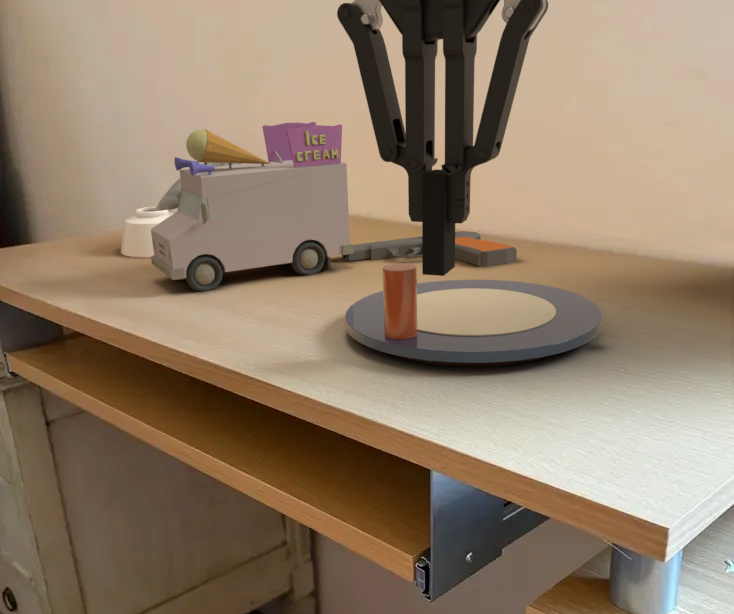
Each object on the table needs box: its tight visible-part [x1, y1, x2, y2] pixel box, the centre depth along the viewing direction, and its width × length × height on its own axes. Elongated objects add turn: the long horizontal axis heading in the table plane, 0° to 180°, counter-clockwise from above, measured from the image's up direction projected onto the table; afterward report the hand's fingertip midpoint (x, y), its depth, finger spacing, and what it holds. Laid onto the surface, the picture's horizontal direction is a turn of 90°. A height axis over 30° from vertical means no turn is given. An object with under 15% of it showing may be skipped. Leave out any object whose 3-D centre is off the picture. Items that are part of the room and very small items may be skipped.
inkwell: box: [120, 162, 242, 259], centre depth 102 cm, size 9×18×10 cm, turn 129°
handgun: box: [341, 230, 518, 268], centre depth 90 cm, size 2×16×12 cm
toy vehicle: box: [150, 121, 355, 293], centre depth 84 cm, size 9×20×15 cm, turn 117°
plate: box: [344, 262, 604, 363], centre depth 64 cm, size 20×20×6 cm
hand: (438, 270), depth 56 cm, fingers closed
